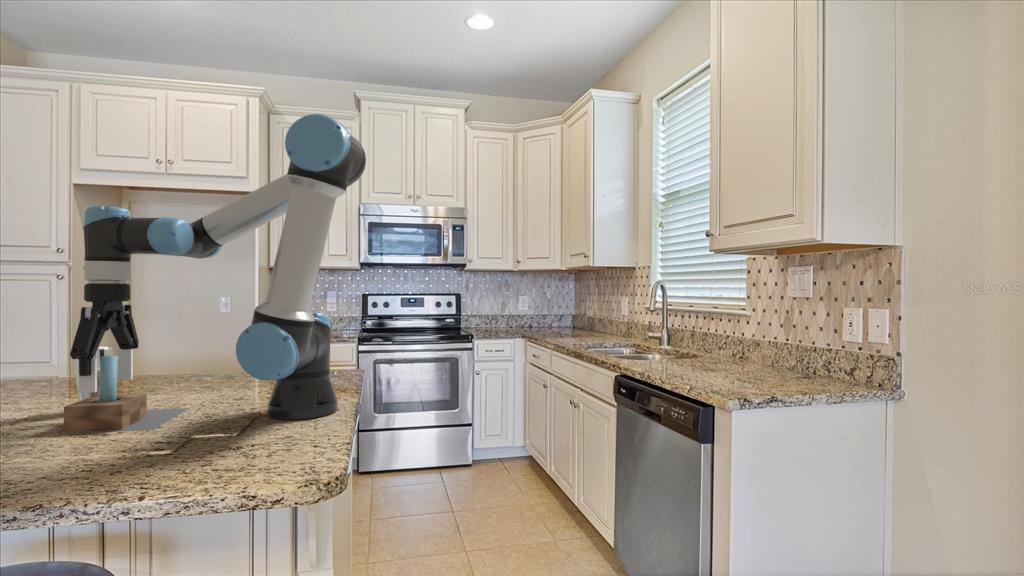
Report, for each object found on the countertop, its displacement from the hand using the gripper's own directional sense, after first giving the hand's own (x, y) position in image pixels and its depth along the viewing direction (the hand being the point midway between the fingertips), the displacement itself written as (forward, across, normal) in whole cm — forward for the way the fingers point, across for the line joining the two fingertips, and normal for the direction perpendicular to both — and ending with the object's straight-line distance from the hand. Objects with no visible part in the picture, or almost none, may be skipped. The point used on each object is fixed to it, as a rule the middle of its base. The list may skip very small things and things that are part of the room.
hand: (107, 385), depth 106 cm
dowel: (+8, 0, 0) cm, 8 cm away
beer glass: (+9, -13, -9) cm, 18 cm away
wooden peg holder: (+8, 0, 0) cm, 8 cm away
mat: (+9, -3, +3) cm, 10 cm away
